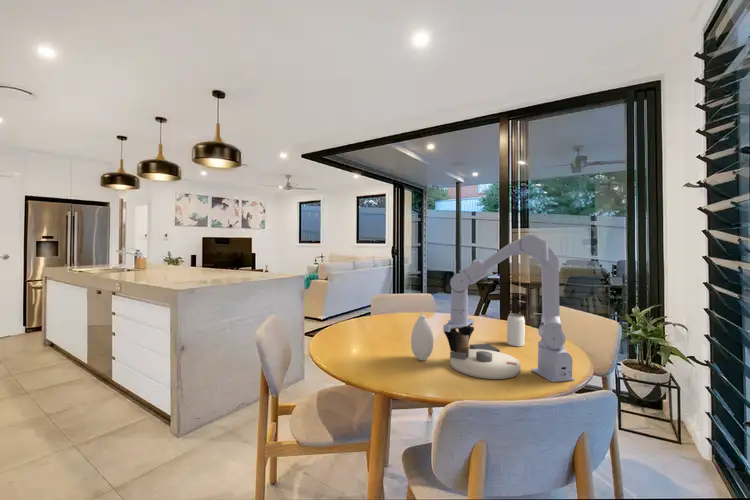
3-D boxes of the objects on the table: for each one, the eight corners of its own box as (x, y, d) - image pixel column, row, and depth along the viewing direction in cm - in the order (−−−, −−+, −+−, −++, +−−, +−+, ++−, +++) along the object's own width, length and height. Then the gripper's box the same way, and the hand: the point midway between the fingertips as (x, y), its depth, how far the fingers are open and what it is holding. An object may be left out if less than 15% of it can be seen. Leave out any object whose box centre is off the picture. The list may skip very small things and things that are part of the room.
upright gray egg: (432, 364, 114) (433, 310, 114) (409, 362, 116) (410, 309, 115) (433, 356, 122) (434, 306, 121) (411, 355, 123) (412, 305, 123)
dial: (521, 360, 118) (521, 348, 118) (518, 384, 98) (518, 370, 98) (457, 351, 127) (457, 340, 127) (442, 371, 107) (442, 358, 107)
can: (506, 345, 136) (506, 315, 135) (508, 341, 141) (508, 312, 141) (523, 347, 133) (524, 317, 132) (525, 343, 138) (525, 314, 138)
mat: (499, 352, 127) (499, 349, 127) (479, 353, 125) (479, 351, 125) (488, 346, 135) (488, 343, 135) (469, 347, 133) (469, 344, 133)
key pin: (470, 356, 115) (471, 335, 115) (463, 358, 112) (463, 337, 112) (460, 353, 118) (461, 332, 118) (453, 355, 115) (453, 334, 115)
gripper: (461, 304, 123) (461, 342, 123) (436, 310, 113) (435, 350, 113) (479, 307, 117) (478, 347, 118) (453, 313, 108) (453, 356, 108)
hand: (458, 349), depth 115 cm, fingers open, 5 cm apart
